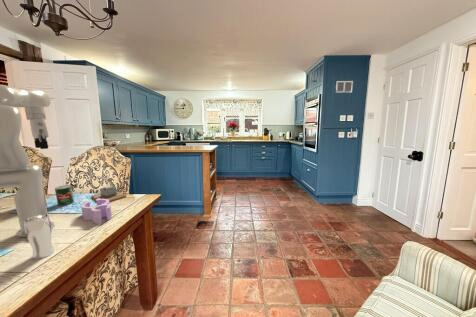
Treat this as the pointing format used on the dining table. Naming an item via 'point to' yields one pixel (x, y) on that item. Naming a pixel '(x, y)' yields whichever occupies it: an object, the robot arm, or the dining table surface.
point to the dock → (112, 198)
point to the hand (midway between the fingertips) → (42, 148)
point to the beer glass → (39, 235)
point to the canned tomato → (64, 195)
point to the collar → (108, 192)
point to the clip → (97, 210)
